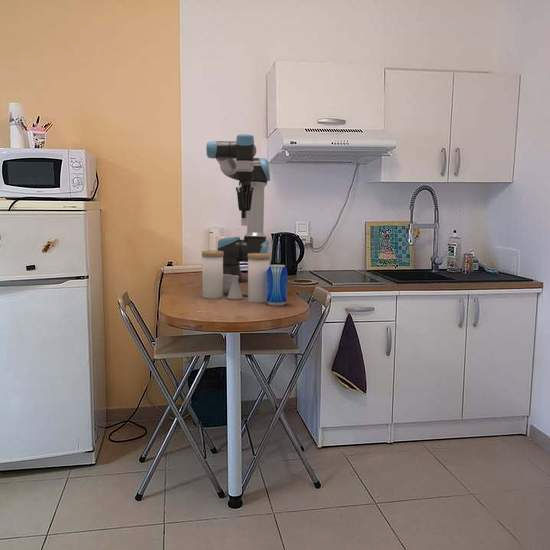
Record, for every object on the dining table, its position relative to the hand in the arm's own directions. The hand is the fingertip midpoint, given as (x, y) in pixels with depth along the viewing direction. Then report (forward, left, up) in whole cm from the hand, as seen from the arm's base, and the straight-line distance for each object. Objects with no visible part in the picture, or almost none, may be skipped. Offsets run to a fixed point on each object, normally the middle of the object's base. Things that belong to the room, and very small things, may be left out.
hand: (244, 225), depth 239 cm
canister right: (+10, +11, -31) cm, 35 cm away
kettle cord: (+3, 0, -31) cm, 31 cm away
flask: (+10, 0, -32) cm, 33 cm away
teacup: (-4, -14, -32) cm, 35 cm away
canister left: (+10, -11, -31) cm, 34 cm away
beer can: (+14, +21, -31) cm, 40 cm away
